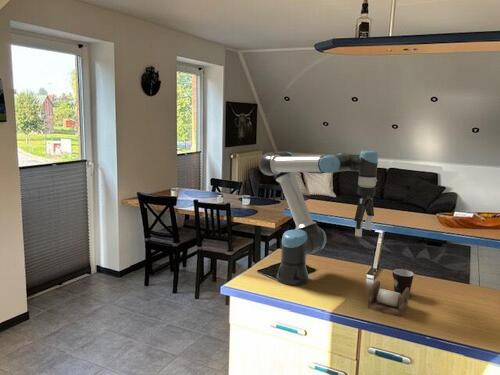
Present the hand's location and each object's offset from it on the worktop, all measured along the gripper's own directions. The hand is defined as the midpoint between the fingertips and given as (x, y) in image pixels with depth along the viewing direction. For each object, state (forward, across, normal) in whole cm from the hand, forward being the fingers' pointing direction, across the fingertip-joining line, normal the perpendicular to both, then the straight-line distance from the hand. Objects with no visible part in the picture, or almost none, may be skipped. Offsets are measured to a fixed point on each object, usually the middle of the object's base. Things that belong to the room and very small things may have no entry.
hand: (363, 232), depth 188 cm
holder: (+27, -11, -16) cm, 33 cm away
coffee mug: (+27, +8, -17) cm, 33 cm away
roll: (+26, -12, -16) cm, 32 cm away
